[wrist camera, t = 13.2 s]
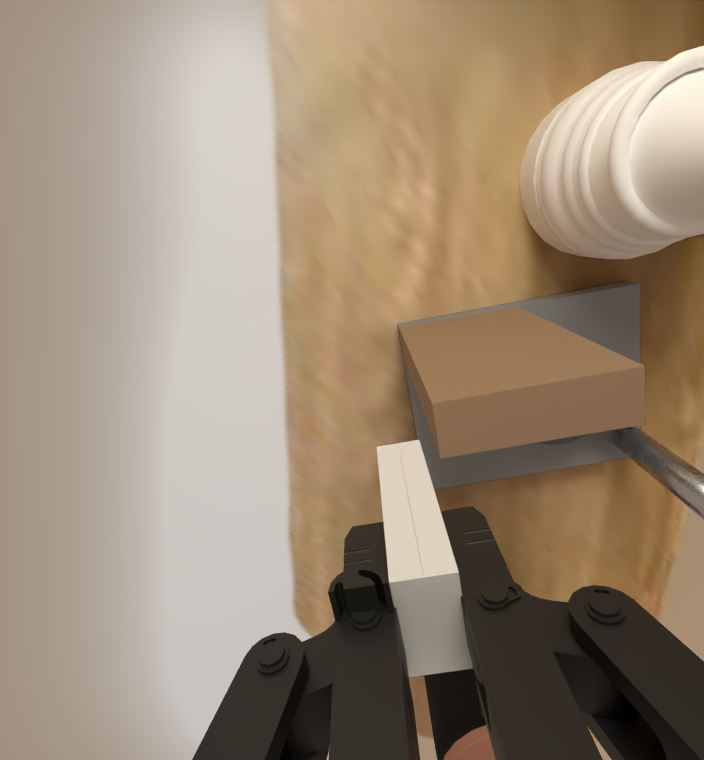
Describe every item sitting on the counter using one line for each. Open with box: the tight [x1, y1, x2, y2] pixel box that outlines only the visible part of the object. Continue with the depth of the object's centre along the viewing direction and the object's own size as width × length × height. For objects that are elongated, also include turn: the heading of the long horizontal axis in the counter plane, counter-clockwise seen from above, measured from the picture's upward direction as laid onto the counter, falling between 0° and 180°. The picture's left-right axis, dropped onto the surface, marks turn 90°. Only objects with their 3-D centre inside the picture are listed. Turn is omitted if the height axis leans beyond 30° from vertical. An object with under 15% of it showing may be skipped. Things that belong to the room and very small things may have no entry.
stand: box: [398, 281, 645, 490], centre depth 34 cm, size 16×20×20 cm
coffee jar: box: [424, 667, 495, 760], centre depth 42 cm, size 11×11×18 cm
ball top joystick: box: [539, 426, 704, 519], centre depth 33 cm, size 12×10×16 cm
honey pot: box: [519, 46, 704, 259], centre depth 29 cm, size 13×13×18 cm
